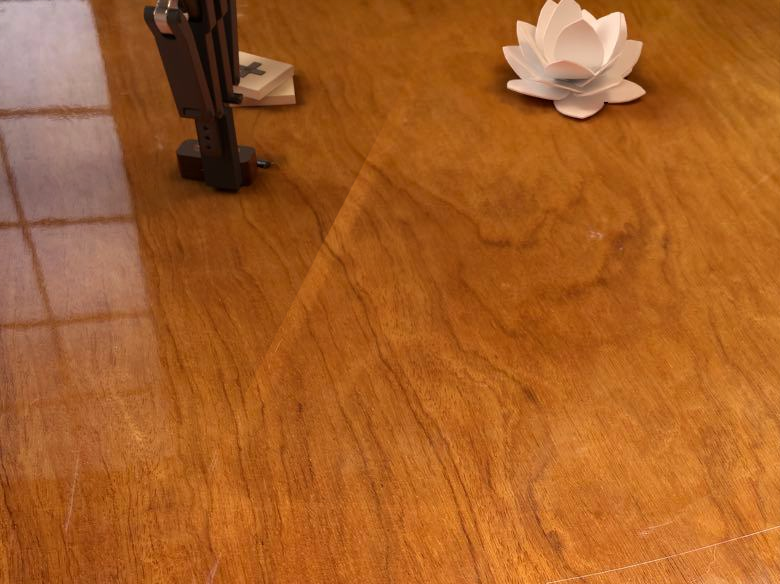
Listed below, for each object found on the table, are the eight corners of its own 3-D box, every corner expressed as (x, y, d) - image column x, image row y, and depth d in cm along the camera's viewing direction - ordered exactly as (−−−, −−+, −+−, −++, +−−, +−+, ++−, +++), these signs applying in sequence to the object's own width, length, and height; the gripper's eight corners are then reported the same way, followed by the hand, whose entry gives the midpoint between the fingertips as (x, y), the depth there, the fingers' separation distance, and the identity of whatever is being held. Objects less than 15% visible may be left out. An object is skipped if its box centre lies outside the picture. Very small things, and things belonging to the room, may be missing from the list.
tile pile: (202, 114, 109) (196, 82, 107) (229, 78, 114) (224, 46, 112) (290, 125, 108) (286, 93, 106) (313, 88, 113) (310, 57, 111)
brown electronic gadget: (261, 199, 99) (256, 164, 97) (180, 189, 100) (173, 154, 97) (278, 172, 102) (273, 138, 100) (199, 162, 103) (193, 127, 100)
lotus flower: (640, 54, 122) (654, -28, 115) (644, 140, 113) (659, 57, 106) (503, 41, 121) (508, -42, 114) (496, 127, 112) (501, 43, 105)
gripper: (192, -90, 76) (242, 230, 93) (257, -150, 85) (291, 152, 102) (82, -102, 76) (151, 218, 93) (157, -161, 85) (208, 141, 102)
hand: (224, 183), depth 98 cm, fingers closed
